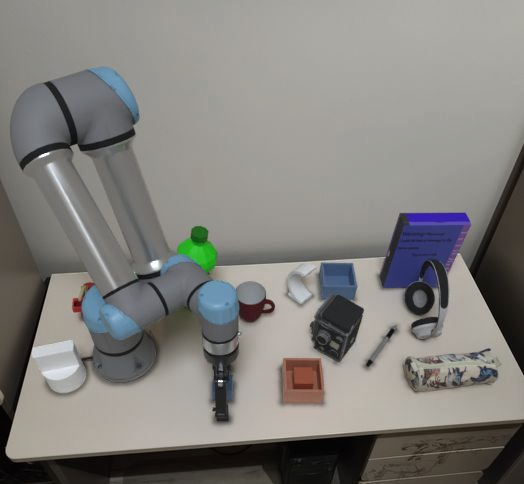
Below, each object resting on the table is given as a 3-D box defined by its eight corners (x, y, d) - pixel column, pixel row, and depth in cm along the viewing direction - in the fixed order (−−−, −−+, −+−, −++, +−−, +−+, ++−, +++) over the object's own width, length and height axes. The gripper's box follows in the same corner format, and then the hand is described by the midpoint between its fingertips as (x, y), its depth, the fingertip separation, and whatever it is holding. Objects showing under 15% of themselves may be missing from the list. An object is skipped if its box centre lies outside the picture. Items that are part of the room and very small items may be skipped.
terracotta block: (293, 393, 118) (294, 383, 114) (291, 376, 120) (293, 367, 117) (311, 393, 118) (313, 383, 114) (310, 376, 121) (312, 367, 117)
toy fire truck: (99, 290, 137) (91, 266, 129) (93, 329, 128) (84, 306, 121) (86, 291, 136) (78, 267, 129) (80, 330, 128) (70, 307, 120)
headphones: (442, 350, 127) (469, 301, 112) (410, 350, 127) (433, 301, 112) (426, 295, 140) (448, 243, 124) (396, 294, 140) (416, 243, 124)
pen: (364, 365, 124) (365, 362, 123) (394, 324, 132) (395, 321, 131) (369, 368, 123) (370, 365, 122) (398, 327, 132) (399, 324, 131)
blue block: (213, 400, 116) (212, 391, 112) (214, 384, 119) (213, 374, 115) (232, 401, 116) (231, 391, 113) (232, 384, 119) (232, 374, 116)
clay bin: (283, 402, 116) (284, 391, 112) (281, 369, 122) (283, 357, 118) (321, 403, 117) (324, 391, 112) (318, 370, 122) (321, 358, 118)
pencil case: (478, 361, 126) (493, 339, 118) (492, 390, 120) (508, 369, 113) (396, 369, 123) (406, 347, 116) (406, 399, 118) (418, 378, 110)
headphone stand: (300, 304, 136) (305, 275, 127) (285, 292, 138) (288, 263, 129) (311, 296, 138) (316, 266, 129) (296, 284, 141) (300, 254, 131)
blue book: (437, 275, 145) (465, 211, 127) (441, 287, 142) (471, 224, 124) (379, 275, 144) (399, 212, 126) (382, 288, 141) (404, 224, 123)
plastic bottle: (170, 310, 131) (175, 243, 112) (175, 281, 138) (181, 214, 119) (207, 315, 133) (218, 250, 114) (211, 286, 139) (222, 220, 120)
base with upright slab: (85, 357, 122) (72, 329, 113) (87, 388, 117) (74, 361, 108) (48, 365, 121) (32, 337, 111) (48, 396, 115) (31, 369, 106)
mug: (273, 305, 135) (274, 280, 128) (274, 328, 130) (276, 304, 123) (234, 305, 135) (234, 281, 127) (235, 328, 130) (234, 304, 122)
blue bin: (321, 299, 137) (323, 286, 133) (318, 275, 143) (321, 262, 139) (353, 299, 138) (357, 286, 134) (349, 275, 144) (353, 262, 139)
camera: (322, 322, 132) (330, 285, 121) (356, 341, 129) (368, 305, 117) (301, 347, 127) (307, 311, 115) (337, 368, 123) (347, 333, 111)
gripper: (237, 395, 93) (238, 442, 109) (240, 296, 109) (240, 350, 125) (198, 395, 93) (204, 442, 109) (206, 296, 109) (211, 350, 125)
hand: (224, 393), depth 117 cm, fingers open, 13 cm apart
